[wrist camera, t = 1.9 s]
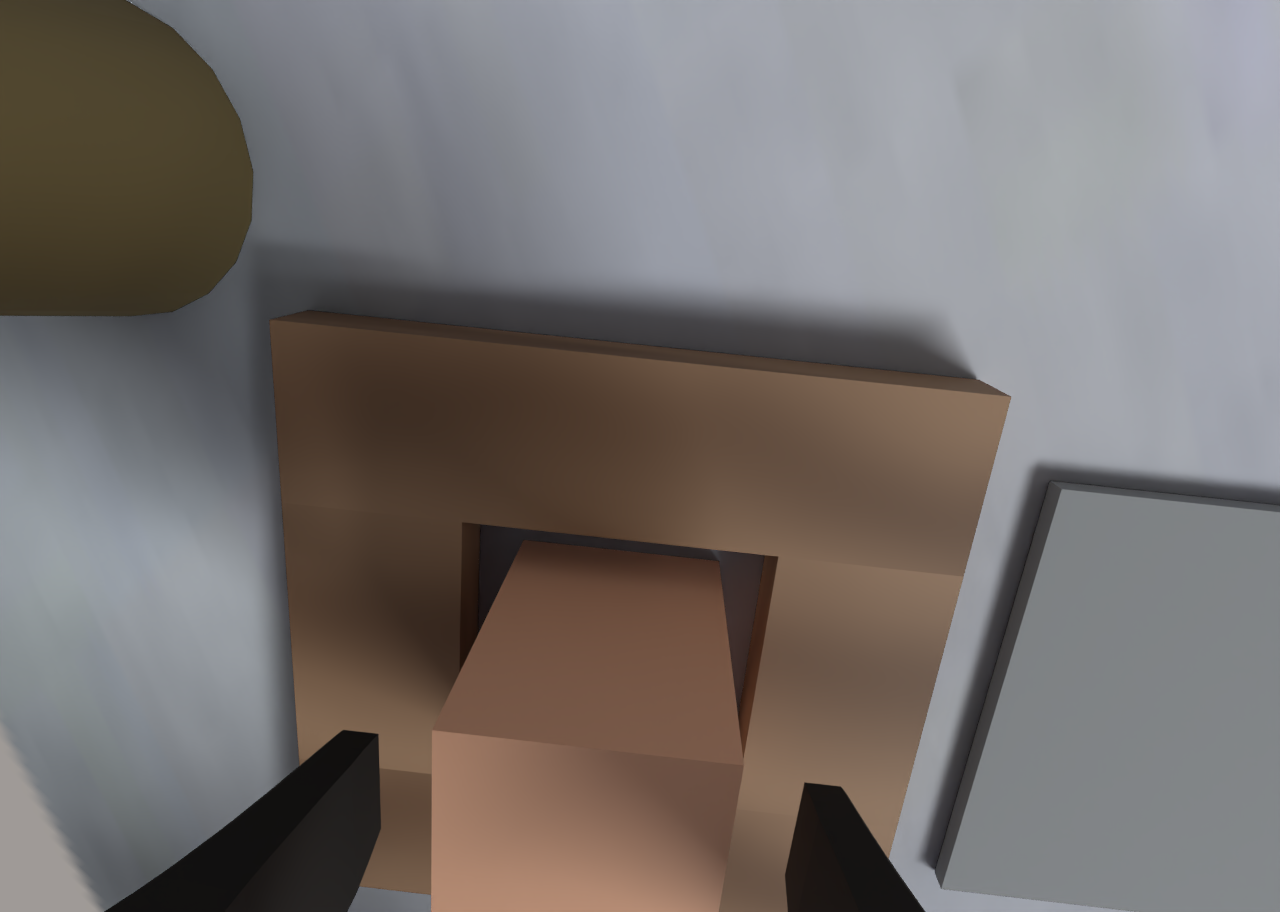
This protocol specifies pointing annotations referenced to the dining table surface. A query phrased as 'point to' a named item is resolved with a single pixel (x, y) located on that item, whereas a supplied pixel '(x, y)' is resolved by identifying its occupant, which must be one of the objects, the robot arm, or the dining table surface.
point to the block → (590, 741)
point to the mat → (1132, 712)
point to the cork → (113, 163)
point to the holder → (628, 510)
